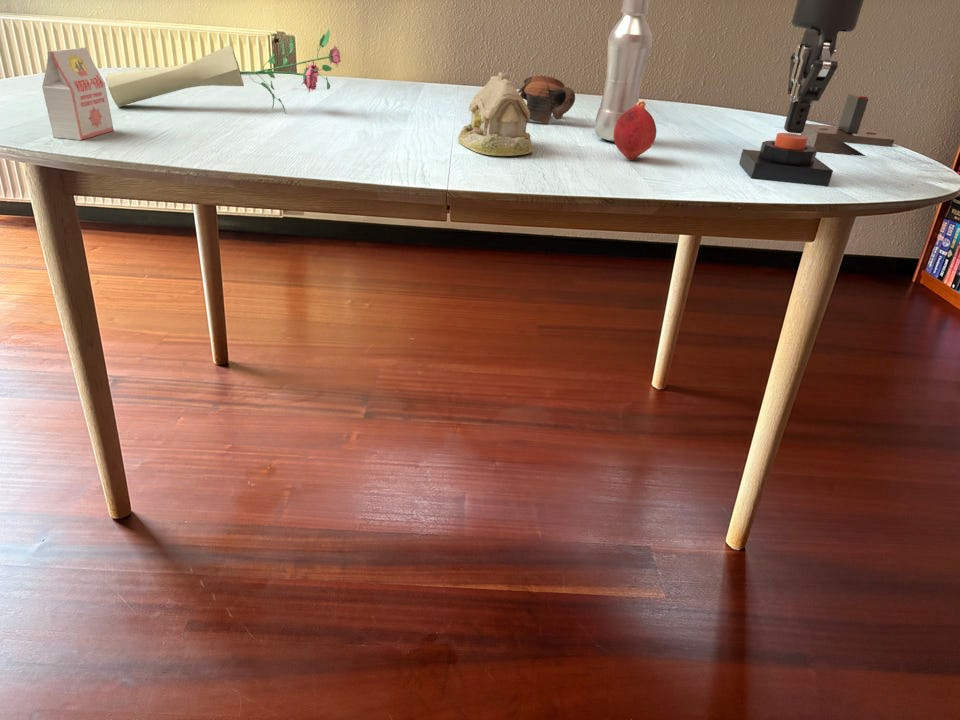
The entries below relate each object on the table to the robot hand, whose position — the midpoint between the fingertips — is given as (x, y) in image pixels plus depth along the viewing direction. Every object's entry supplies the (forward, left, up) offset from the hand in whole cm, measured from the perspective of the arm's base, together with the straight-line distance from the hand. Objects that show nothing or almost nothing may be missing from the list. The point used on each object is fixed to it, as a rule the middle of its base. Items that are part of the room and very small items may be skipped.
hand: (792, 131), depth 93 cm
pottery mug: (+35, -26, -6) cm, 44 cm away
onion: (+21, 0, -6) cm, 22 cm away
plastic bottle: (+23, -13, -6) cm, 27 cm away
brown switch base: (-16, -26, -6) cm, 31 cm away
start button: (0, 0, -2) cm, 2 cm away
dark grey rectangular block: (-16, -26, -3) cm, 31 cm away
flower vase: (+84, -8, -6) cm, 85 cm away
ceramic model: (+40, 0, -6) cm, 40 cm away
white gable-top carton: (+92, +18, -6) cm, 94 cm away
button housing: (0, 0, -6) cm, 6 cm away
